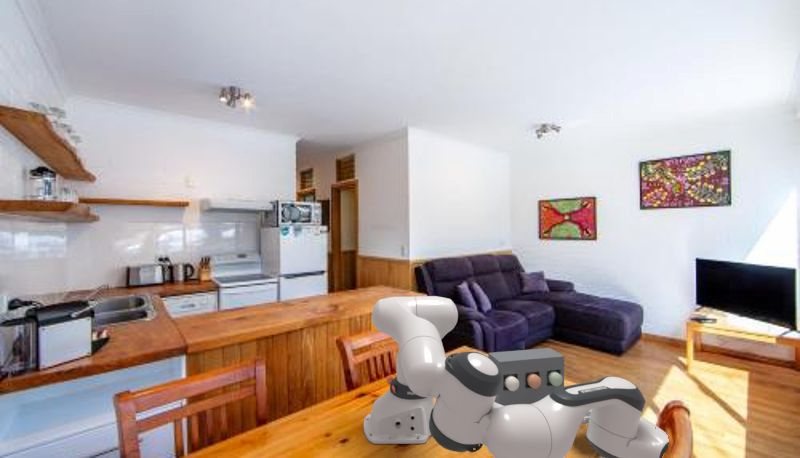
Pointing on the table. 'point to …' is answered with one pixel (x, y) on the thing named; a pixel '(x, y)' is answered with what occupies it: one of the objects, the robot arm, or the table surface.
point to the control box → (527, 373)
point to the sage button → (555, 378)
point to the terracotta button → (533, 381)
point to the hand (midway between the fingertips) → (577, 393)
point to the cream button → (511, 383)
